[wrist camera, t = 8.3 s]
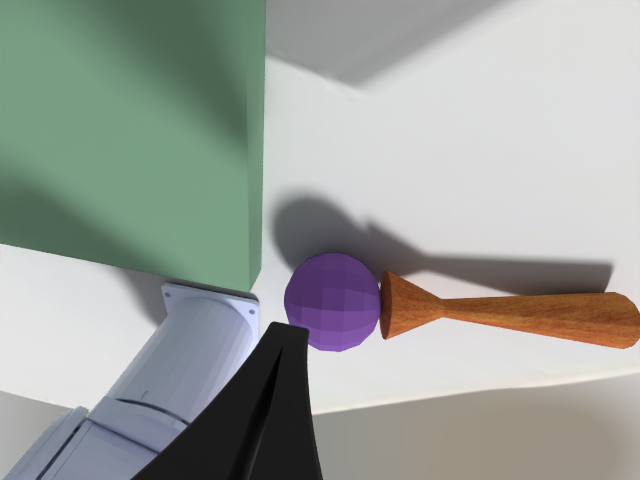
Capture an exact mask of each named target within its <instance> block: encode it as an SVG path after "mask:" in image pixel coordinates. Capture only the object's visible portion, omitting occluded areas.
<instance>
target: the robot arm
mask: <svg viewBox="0 0 640 480" xmlns="http://www.w3.org/2000/svg"><path fill="white" fill-rule="evenodd" d="M161 290H162V295H163V299H164V303H165V307H166V312H167V317H166V318H165V319H164V321H163V322H162V323H161V324H160V326H159V327H158V328H157V330H156V331H155V332H154V333H153V335H152V336H151V337H150V339H149V340H148V341H147V343H146V344H145V345H144V346H143V348H142V349H141V350H140V352H139V353H138V354H137V355H136V357H135V358H134V359H133V361H132V362H131V363H130V364H129V366H128V367H127V368H126V370H125V371H124V372H123V373H122V375H121V376H120V377H119V379H118V380H117V381H116V383H115V384H114V385H113V386H112V388H111V389H110V390H109V392H108V393H107V394H106V395H105V396H104V397H103V398H102V399H101V401H100V402H99V403H98V404H97V405H96V406H95V407H94V409H93V410H92V411H91V412H90V413H89V414H88V415H87V417H85V415H86V413H87V412H88V411H89V410H88V409H86V408H84V407H82V406H79V407H77V408H75V410H69V411H66V412H63V413H61V414H60V415H59V416H58V417H57V418H56V419H55V420H54V421H53V423H52V424H51V425H50V426H49V427H48V428H47V429H46V430H45V431H44V433H43V434H42V435H41V436H40V437H39V438H38V440H37V441H36V442H35V443H34V444H33V445H32V446H31V447H30V449H29V450H28V451H27V452H26V453H25V454H24V455H23V457H22V458H21V459H20V460H19V461H18V462H17V464H16V465H15V466H14V467H13V468H12V469H11V471H10V472H9V473H8V474H7V475H6V476H5V478H4V479H3V480H323V478H322V473H321V468H320V463H319V458H318V452H317V447H316V442H315V435H314V428H313V422H312V414H311V406H310V397H309V385H308V370H307V349H308V339H309V333H310V331H309V330H308V329H307V328H304V327H299V326H294V325H289V324H284V323H279V322H272V323H270V325H269V327H268V328H267V330H266V332H265V333H264V335H263V336H262V338H261V340H260V341H259V309H260V305H259V303H258V302H257V301H255V300H252V299H247V298H242V297H237V296H232V295H227V294H222V293H217V292H212V291H207V290H202V289H197V288H192V287H187V286H182V285H177V284H172V283H164V284H163V285H162V287H161ZM253 310H254V311H253Z"/></svg>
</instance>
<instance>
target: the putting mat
mask: <svg viewBox="0 0 640 480" xmlns="http://www.w3.org/2000/svg"><path fill="white" fill-rule="evenodd" d="M265 13H266V0H0V243H1V244H6V245H11V246H16V247H21V248H26V249H31V250H36V251H41V252H46V253H51V254H56V255H61V256H66V257H71V258H77V259H82V260H87V261H92V262H97V263H102V264H107V265H112V266H117V267H122V268H127V269H132V270H137V271H142V272H147V273H152V274H157V275H162V276H167V277H172V278H177V279H182V280H187V281H192V282H198V283H203V284H208V285H213V286H218V287H223V288H228V289H233V290H238V291H243V292H248V293H249V292H250V290H251V289H252V287H253V285H254V283H255V281H256V279H257V277H258V275H259V273H260V271H261V247H262V188H263V130H264V71H265Z"/></svg>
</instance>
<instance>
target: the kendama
mask: <svg viewBox="0 0 640 480" xmlns="http://www.w3.org/2000/svg"><path fill="white" fill-rule="evenodd" d="M284 307H285V310H286V314H287V317H288V321H289V324H290V325H294V326H299V327H304V328H307V329H308V330H309V331H310V333H309V339H308V344H309V345H311V346H313V347H315V348H317V349H318V350H322V351H335V352H341V351H344V350H347V349H349V348H352V347H355V346H358V345H360V344H361V343H362V342H363V341H364V340H365V339H366V338H367V337H368V336H369V335H370V334H371V333H372V332H373V331H374V329H375V326H376V324H377V321H378V319H379V320H380V329H381V334H382V337H383V339H385V340H386V339H389V338H391V337H394V336H396V335H399V334H401V333H404V332H406V331H409V330H411V329H414V328H416V327H419V326H421V325H424V324H426V323H429V322H431V321H434V320H436V319H439V318H441V317H445V318H450V319H456V320H462V321H467V322H473V323H478V324H484V325H489V326H495V327H501V328H506V329H512V330H517V331H523V332H529V333H534V334H540V335H545V336H551V337H557V338H562V339H568V340H573V341H579V342H584V343H590V344H596V345H601V346H607V347H612V348H619V349H625V348H628V347H631V346H633V345H634V344H635V343H636V342H637V341H638V340H639V339H640V313H639V311H638V309H637V307H636V306H635V304H634V303H633V302H632V301H630V300H629V299H628V298H627V297H626V296H624V295H621V294H618V293H616V292H605V293H581V294H557V295H532V296H508V297H484V298H459V299H441V298H439V297H437V296H435V295H433V294H431V293H429V292H427V291H425V290H424V289H422V288H420V287H418V286H416V285H414V284H412V283H410V282H408V281H406V280H405V279H403V278H401V277H399V276H397V275H395V274H393V273H391V272H389V271H387V270H386V271H385V272H384V274H383V277H382V281H381V286H380V290H379V287H378V284H377V281H376V278H375V276H374V275H373V274H372V273H371V272H370V271H369V269H368V268H367V267H366V266H365V265H364V264H363V263H362V262H361V261H359V260H357V259H355V258H353V257H350V256H348V255H346V254H340V253H324V254H321V255H318V256H315V257H312V258H309V259H308V260H307V261H305V262H304V263H303V264H302V265H301V266H300V267H299V268H297V269H296V270H295V271H294V273H293V275H292V277H291V279H290V281H289V283H288V285H287V287H286V290H285V295H284Z"/></svg>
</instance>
